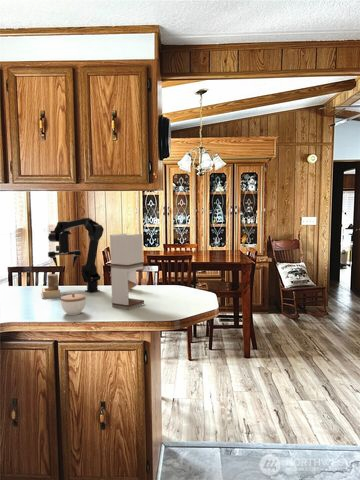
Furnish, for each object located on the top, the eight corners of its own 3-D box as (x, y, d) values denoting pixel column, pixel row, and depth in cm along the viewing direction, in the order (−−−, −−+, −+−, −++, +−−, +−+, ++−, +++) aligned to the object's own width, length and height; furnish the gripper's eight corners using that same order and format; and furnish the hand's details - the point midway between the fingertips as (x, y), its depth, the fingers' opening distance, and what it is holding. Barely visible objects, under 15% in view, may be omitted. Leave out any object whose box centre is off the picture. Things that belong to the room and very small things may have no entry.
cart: (57, 292, 209) (57, 273, 209) (58, 294, 204) (58, 275, 203) (48, 293, 207) (47, 274, 207) (49, 295, 202) (48, 276, 201)
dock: (60, 292, 213) (60, 286, 213) (63, 296, 202) (62, 290, 202) (41, 294, 209) (40, 288, 208) (42, 298, 198) (42, 292, 197)
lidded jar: (76, 309, 175) (76, 289, 174) (90, 312, 168) (90, 292, 167) (56, 314, 166) (55, 293, 166) (70, 318, 160) (69, 296, 159)
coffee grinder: (129, 309, 172) (127, 235, 169) (112, 307, 177) (109, 234, 175) (144, 304, 181) (142, 233, 179) (127, 301, 187) (125, 233, 184)
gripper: (77, 240, 233) (78, 264, 234) (46, 241, 225) (47, 267, 227) (80, 241, 223) (81, 267, 224) (48, 243, 215) (49, 269, 216)
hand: (65, 267), depth 223 cm, fingers open, 9 cm apart
